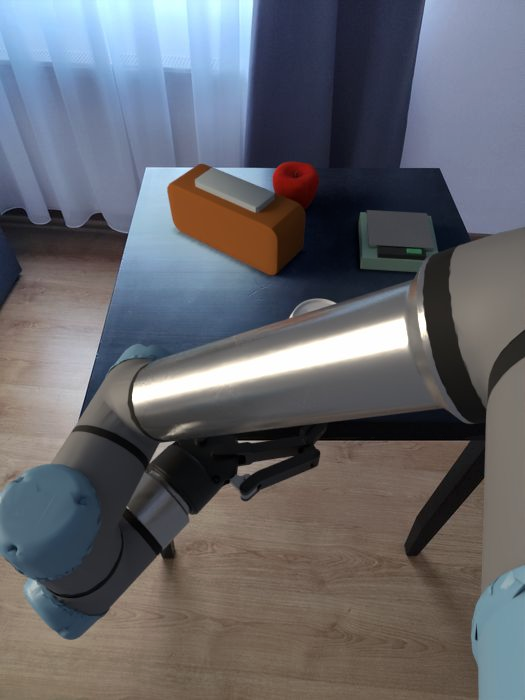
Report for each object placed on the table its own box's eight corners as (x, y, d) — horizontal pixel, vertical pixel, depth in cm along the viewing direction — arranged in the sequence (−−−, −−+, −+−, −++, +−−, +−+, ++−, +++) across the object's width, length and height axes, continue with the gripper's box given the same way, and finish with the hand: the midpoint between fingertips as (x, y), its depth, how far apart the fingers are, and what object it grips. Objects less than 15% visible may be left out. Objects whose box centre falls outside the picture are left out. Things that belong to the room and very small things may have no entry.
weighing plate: (433, 251, 82) (434, 248, 81) (368, 247, 82) (368, 244, 82) (426, 215, 88) (427, 213, 87) (366, 212, 88) (366, 209, 88)
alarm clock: (303, 254, 86) (307, 198, 77) (276, 280, 81) (278, 224, 72) (201, 207, 94) (195, 153, 86) (173, 229, 90) (163, 174, 81)
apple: (262, 205, 95) (262, 168, 89) (294, 187, 99) (296, 152, 92) (294, 225, 91) (296, 188, 85) (326, 206, 94) (330, 170, 88)
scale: (436, 273, 82) (442, 256, 79) (360, 268, 83) (363, 252, 80) (427, 227, 90) (432, 210, 87) (358, 223, 91) (361, 206, 88)
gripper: (105, 442, 59) (222, 341, 69) (257, 582, 49) (368, 441, 59) (87, 410, 53) (218, 305, 63) (255, 562, 43) (379, 409, 53)
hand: (291, 370), depth 61 cm, fingers open, 13 cm apart
